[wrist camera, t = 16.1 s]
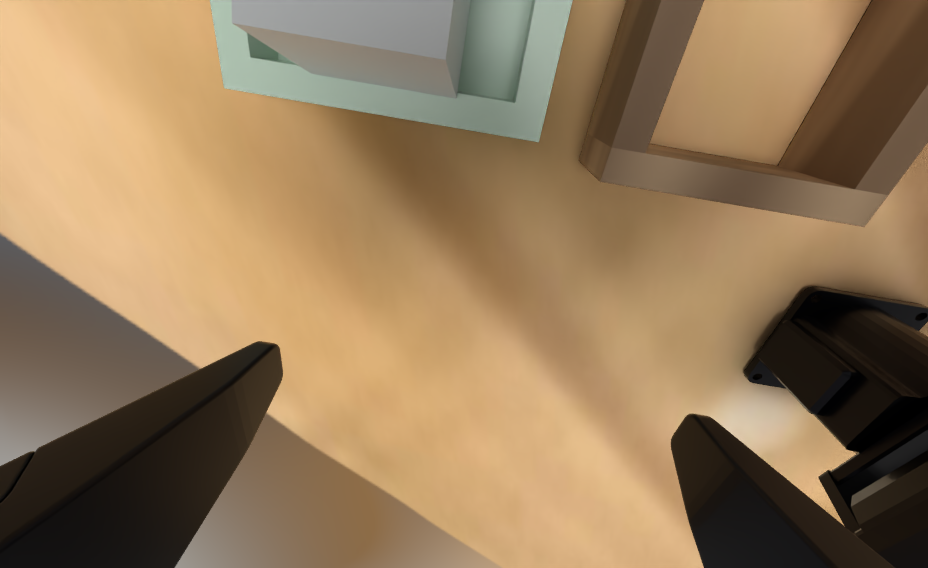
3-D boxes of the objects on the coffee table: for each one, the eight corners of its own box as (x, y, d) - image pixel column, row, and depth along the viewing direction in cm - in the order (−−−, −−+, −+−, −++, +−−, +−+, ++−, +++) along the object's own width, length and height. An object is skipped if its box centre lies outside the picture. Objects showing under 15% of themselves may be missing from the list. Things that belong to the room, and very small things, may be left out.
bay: (926, -31, 13) (1088, -73, 9) (788, 196, 17) (864, 227, 13) (650, -79, 13) (708, -140, 9) (578, 160, 17) (600, 181, 13)
